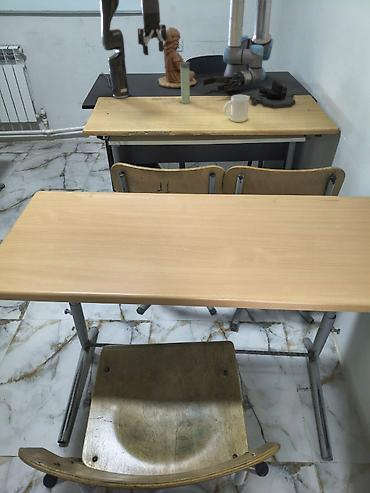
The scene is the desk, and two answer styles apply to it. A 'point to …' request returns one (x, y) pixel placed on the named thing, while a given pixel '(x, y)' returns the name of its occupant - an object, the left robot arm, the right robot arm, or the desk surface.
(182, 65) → the lid
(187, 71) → the bottle
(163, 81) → the sculpture
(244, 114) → the mug
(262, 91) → the abstract sculpture
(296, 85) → the desk surface
